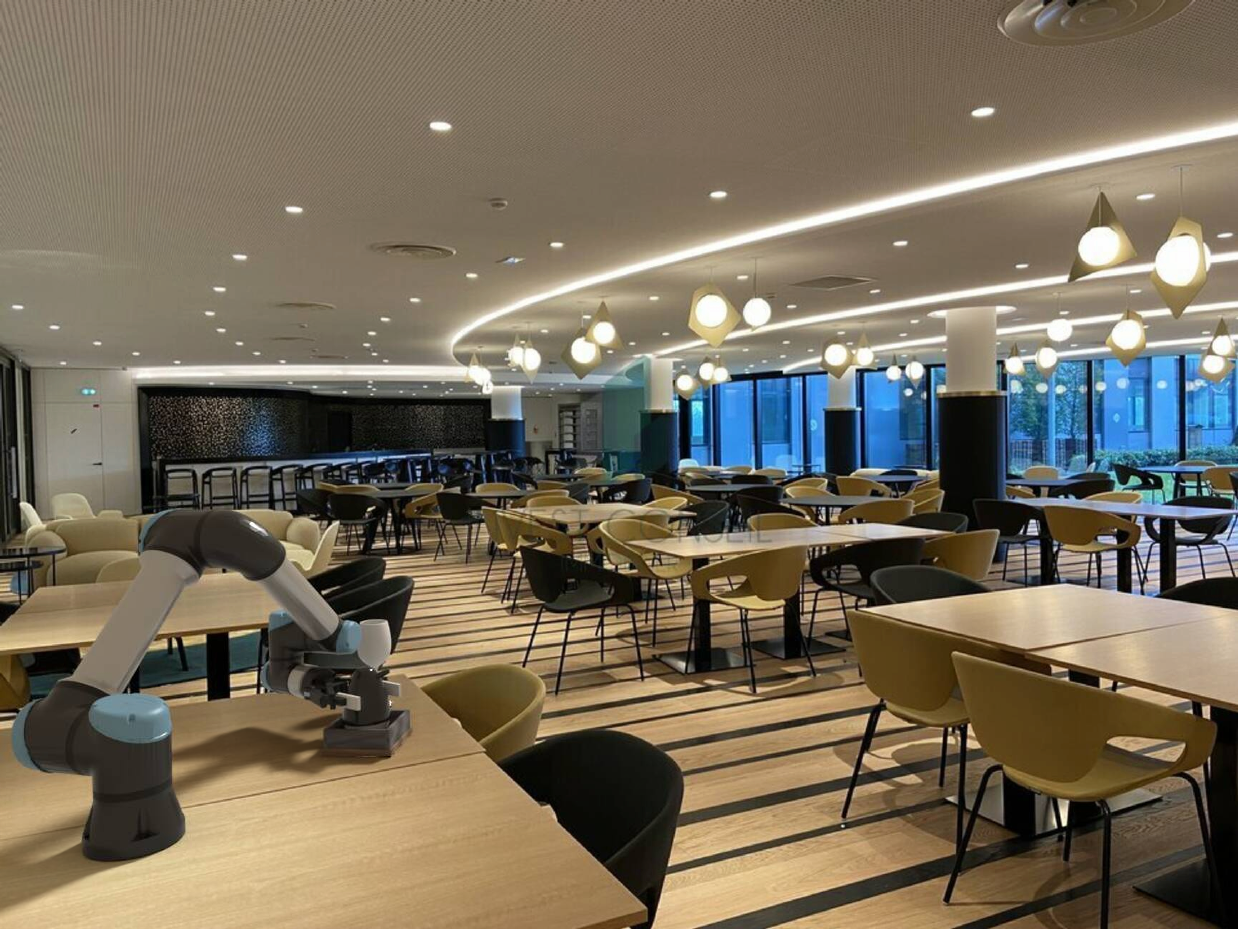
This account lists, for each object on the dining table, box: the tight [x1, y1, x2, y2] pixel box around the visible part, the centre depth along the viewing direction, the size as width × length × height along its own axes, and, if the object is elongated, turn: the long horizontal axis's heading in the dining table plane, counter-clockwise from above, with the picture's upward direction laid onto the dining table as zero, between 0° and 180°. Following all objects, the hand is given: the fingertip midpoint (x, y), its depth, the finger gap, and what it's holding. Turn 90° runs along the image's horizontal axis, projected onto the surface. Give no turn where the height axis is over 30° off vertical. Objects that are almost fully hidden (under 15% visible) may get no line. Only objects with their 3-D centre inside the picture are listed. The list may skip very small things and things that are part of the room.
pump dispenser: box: [341, 665, 392, 729], centre depth 194 cm, size 10×10×15 cm
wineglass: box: [356, 618, 393, 706], centre depth 222 cm, size 9×9×21 cm
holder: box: [320, 709, 414, 757], centre depth 194 cm, size 15×15×6 cm
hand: (380, 697), depth 192 cm, fingers open, 11 cm apart
